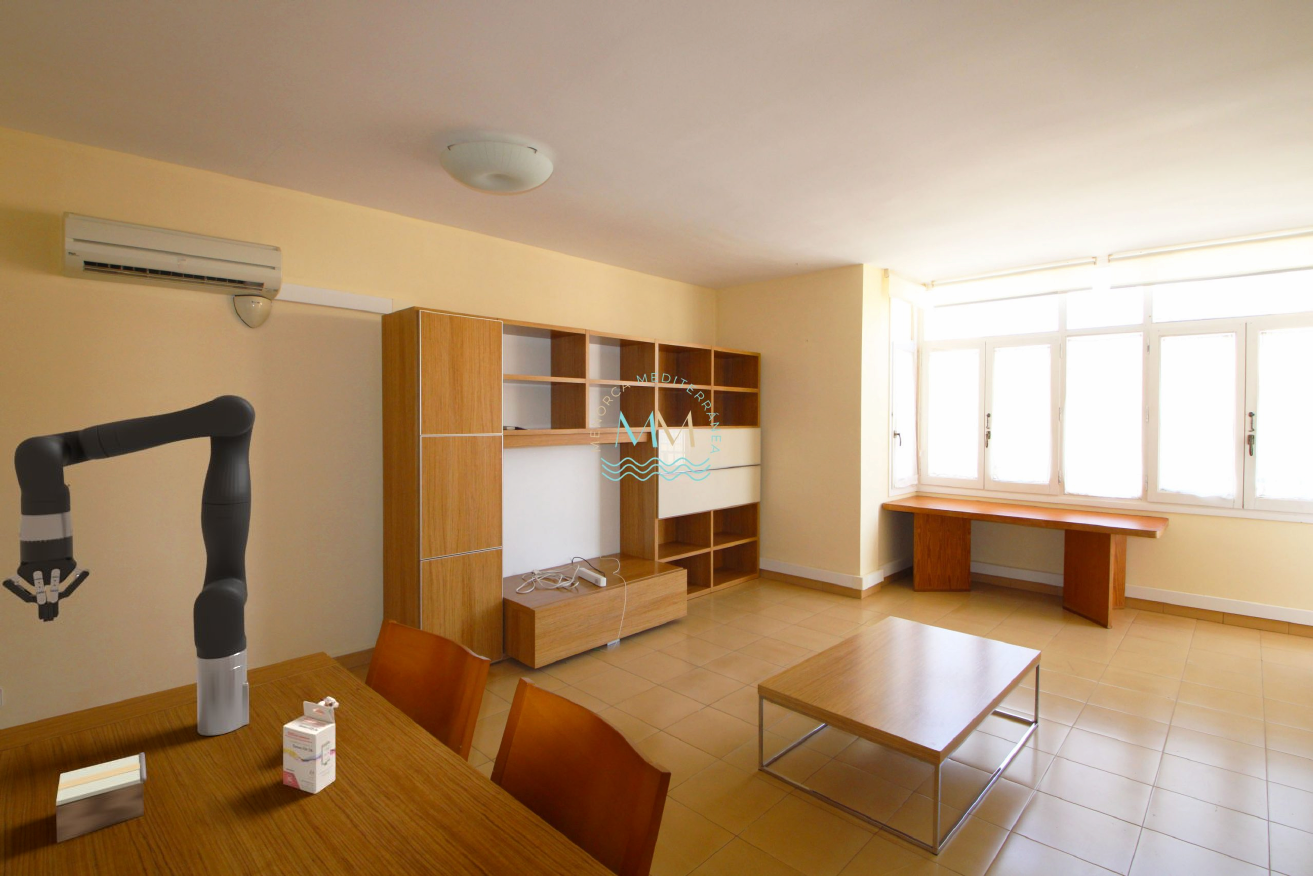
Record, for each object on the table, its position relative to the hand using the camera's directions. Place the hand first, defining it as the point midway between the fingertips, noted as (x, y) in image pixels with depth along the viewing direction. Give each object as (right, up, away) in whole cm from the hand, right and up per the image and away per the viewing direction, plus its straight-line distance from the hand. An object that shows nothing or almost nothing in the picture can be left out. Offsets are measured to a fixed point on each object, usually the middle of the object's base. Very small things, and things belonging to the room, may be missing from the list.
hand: (48, 620), depth 123 cm
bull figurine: (+48, -30, +10) cm, 57 cm away
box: (+24, -30, -14) cm, 41 cm away
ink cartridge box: (+55, -31, -4) cm, 63 cm away
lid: (+24, -24, -15) cm, 37 cm away
